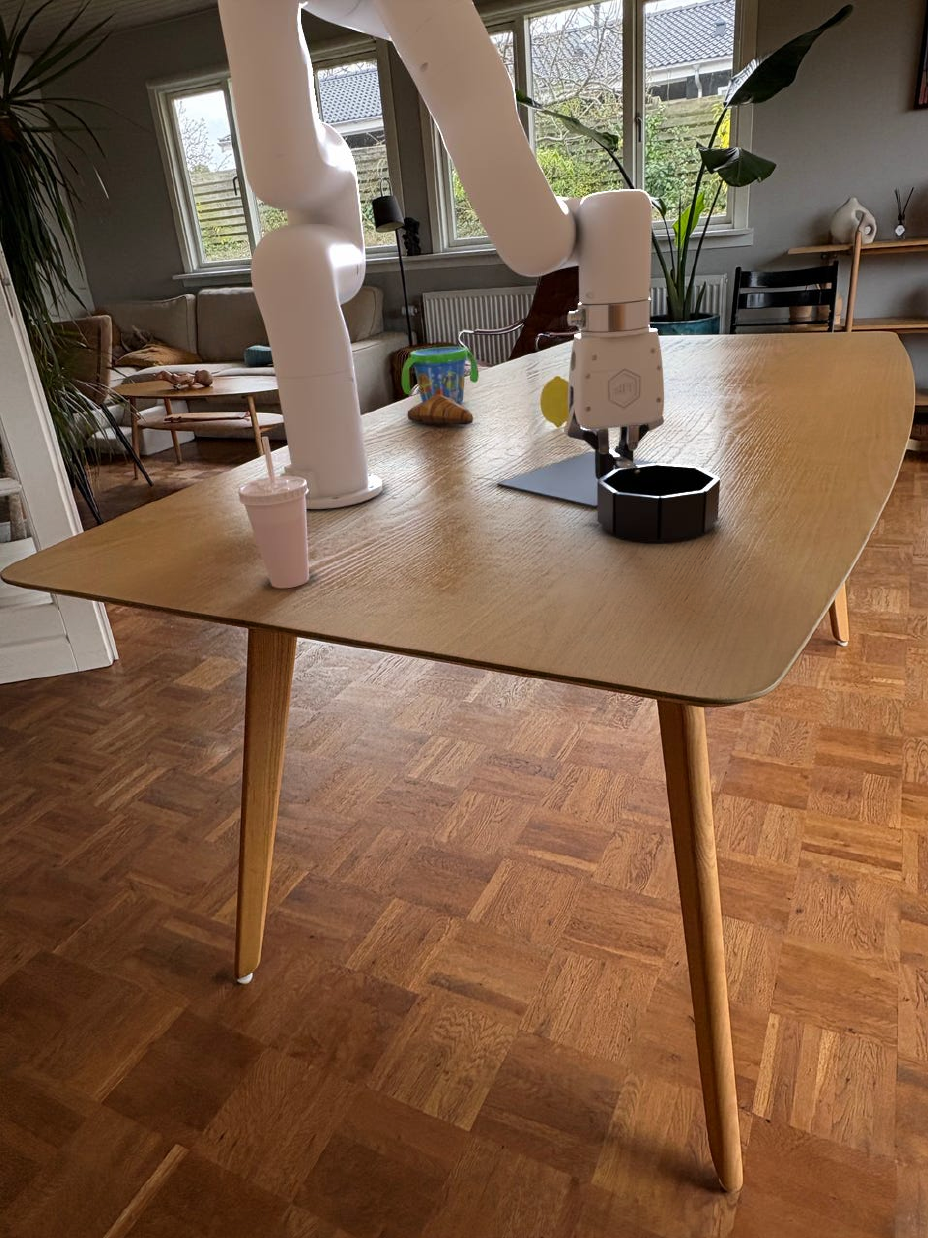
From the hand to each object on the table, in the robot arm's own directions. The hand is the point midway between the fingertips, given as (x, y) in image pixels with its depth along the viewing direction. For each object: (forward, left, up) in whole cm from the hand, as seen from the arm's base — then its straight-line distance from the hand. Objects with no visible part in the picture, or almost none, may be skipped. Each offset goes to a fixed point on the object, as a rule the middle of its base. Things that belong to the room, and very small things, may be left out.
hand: (614, 482), depth 96 cm
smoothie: (-40, +8, -2) cm, 41 cm away
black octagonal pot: (-3, -6, -1) cm, 7 cm away
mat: (+3, +6, -1) cm, 7 cm away
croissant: (+14, +49, -2) cm, 51 cm away
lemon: (+22, +29, -2) cm, 37 cm away
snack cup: (+24, +60, -2) cm, 65 cm away
